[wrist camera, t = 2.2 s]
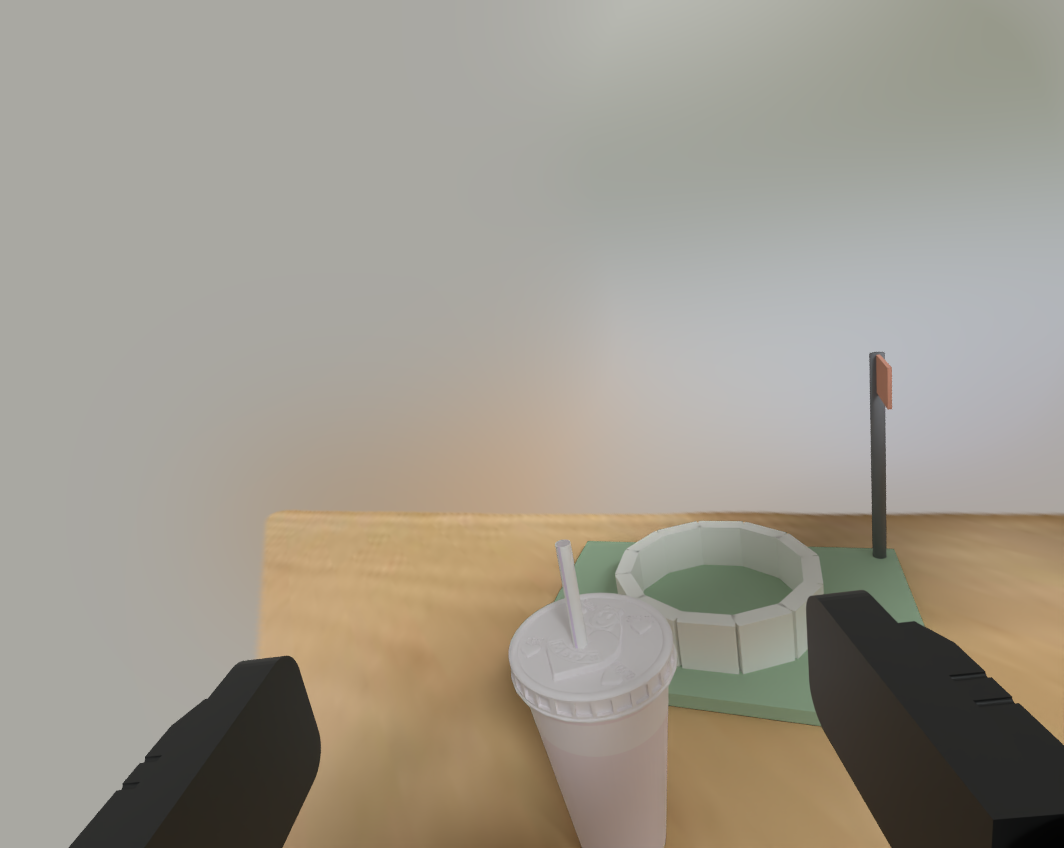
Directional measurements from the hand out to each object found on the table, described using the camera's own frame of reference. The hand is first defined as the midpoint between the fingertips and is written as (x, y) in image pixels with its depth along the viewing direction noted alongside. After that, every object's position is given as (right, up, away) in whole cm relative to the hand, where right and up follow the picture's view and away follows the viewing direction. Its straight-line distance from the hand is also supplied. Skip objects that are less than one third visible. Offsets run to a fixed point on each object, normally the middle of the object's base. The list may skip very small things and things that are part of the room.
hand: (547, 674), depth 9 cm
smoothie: (+4, -14, +15) cm, 21 cm away
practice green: (+12, -8, +28) cm, 31 cm away
